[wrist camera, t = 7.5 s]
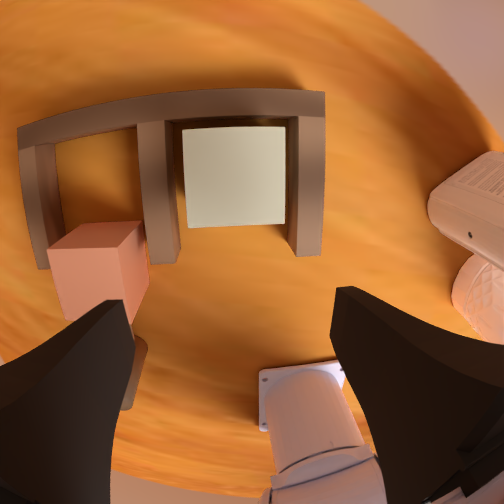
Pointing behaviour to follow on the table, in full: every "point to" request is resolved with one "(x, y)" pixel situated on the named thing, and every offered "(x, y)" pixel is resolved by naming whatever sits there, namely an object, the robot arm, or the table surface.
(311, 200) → the lane rack
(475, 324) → the white cup
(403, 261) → the table surface
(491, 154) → the photo printer
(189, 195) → the plain block
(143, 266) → the tethered block
